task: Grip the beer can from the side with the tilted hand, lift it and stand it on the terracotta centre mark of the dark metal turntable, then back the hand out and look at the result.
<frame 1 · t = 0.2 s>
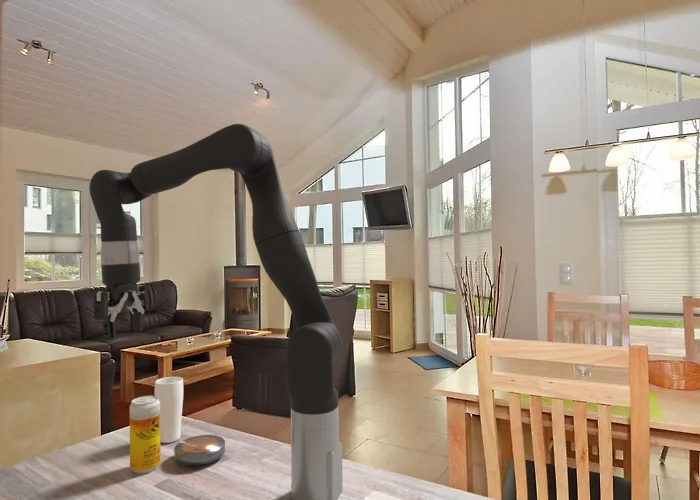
hand: (124, 334, 96), 29 cm above the table, tool pointing down, fingers open, 8 cm apart
turntable: (200, 449, 99), point 2 cm above the table, hinge at 0.0°
turntable base: (200, 458, 99), on the table
beer can: (145, 468, 95), on the table
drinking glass: (169, 440, 109), on the table
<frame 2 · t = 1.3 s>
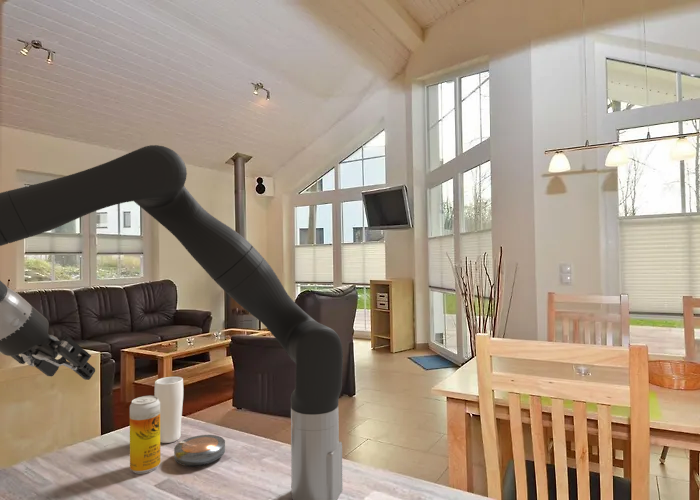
hand: (72, 373, 78), 26 cm above the table, tool tilted 45°, fingers open, 8 cm apart
nothing on the table moved.
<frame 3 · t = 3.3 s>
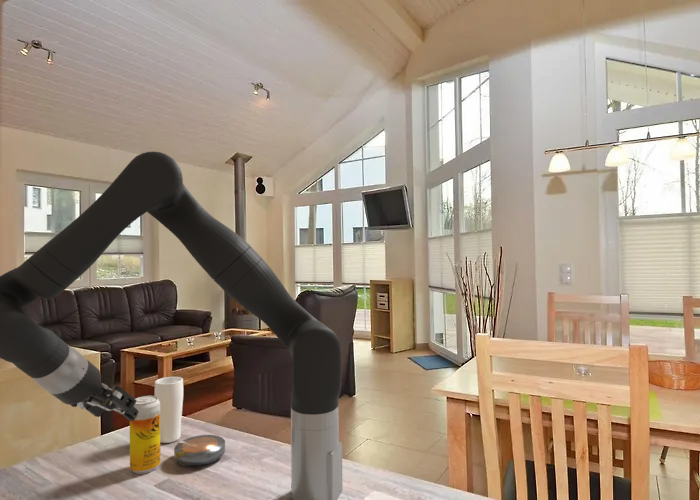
hand: (117, 414, 88), 14 cm above the table, tool tilted 45°, fingers open, 8 cm apart
nothing on the table moved.
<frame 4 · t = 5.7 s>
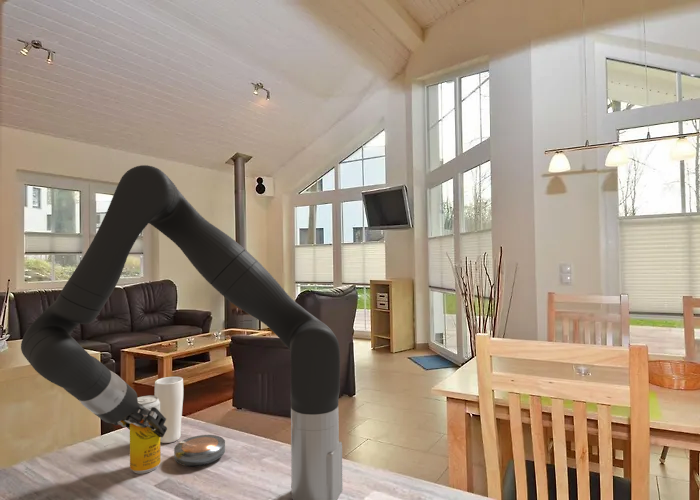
hand: (151, 431, 97), 7 cm above the table, tool tilted 45°, fingers closed on beer can, 6 cm apart
beer can: (145, 468, 95), on the table, touching gripper
everything else where it was.
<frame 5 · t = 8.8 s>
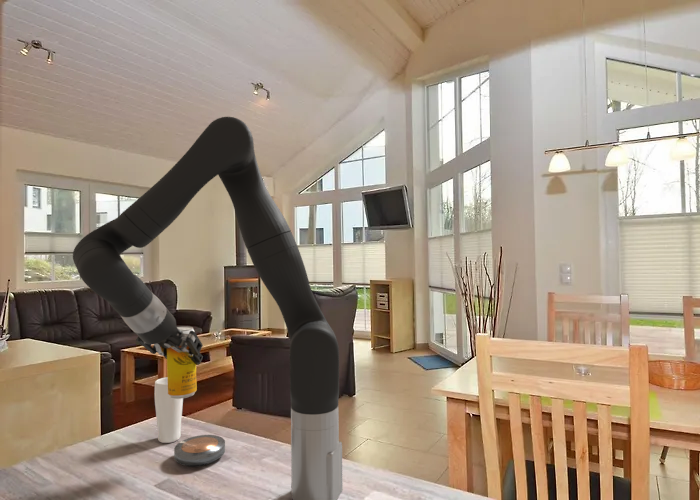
hand: (187, 360, 99), 22 cm above the table, tool tilted 45°, fingers closed on beer can, 6 cm apart
beer can: (182, 395, 97), point 15 cm above the table, touching gripper
everything else where it was.
when the fingers open (12 cm above the table, at t = 11.8 s): beer can drops 1 cm, resting on turntable.
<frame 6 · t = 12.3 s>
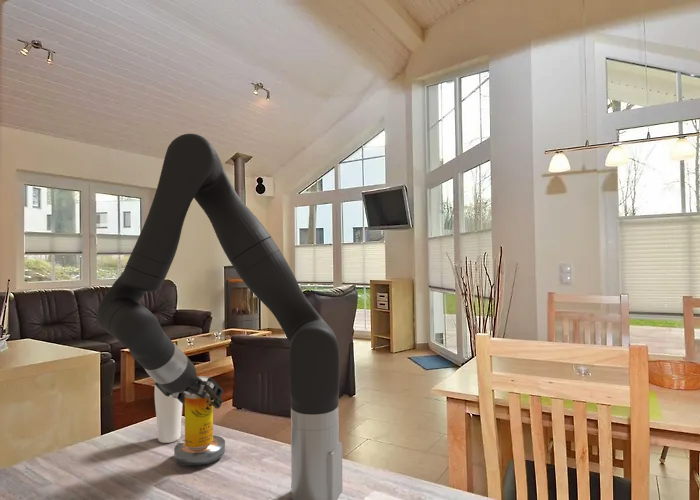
hand: (203, 403, 101), 12 cm above the table, tool tilted 45°, fingers open, 8 cm apart
turntable: (200, 449, 99), point 2 cm above the table, hinge at 0.0°, touching beer can
beer can: (199, 445, 99), point 3 cm above the table, touching turntable
everything else where it was.
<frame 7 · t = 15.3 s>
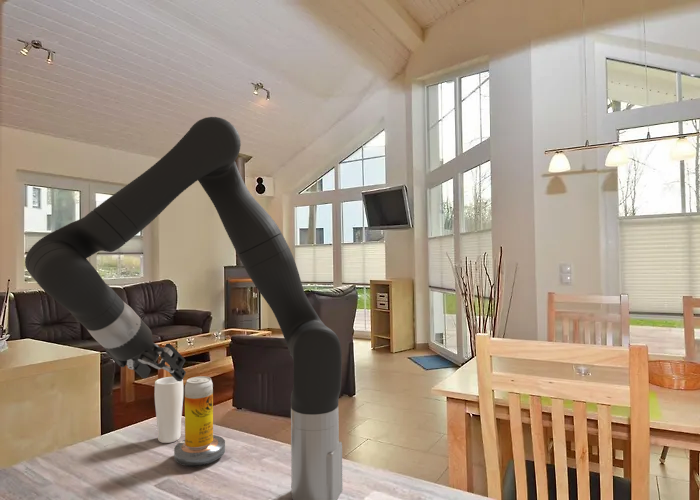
hand: (164, 375, 88), 22 cm above the table, tool tilted 45°, fingers open, 8 cm apart
nothing on the table moved.
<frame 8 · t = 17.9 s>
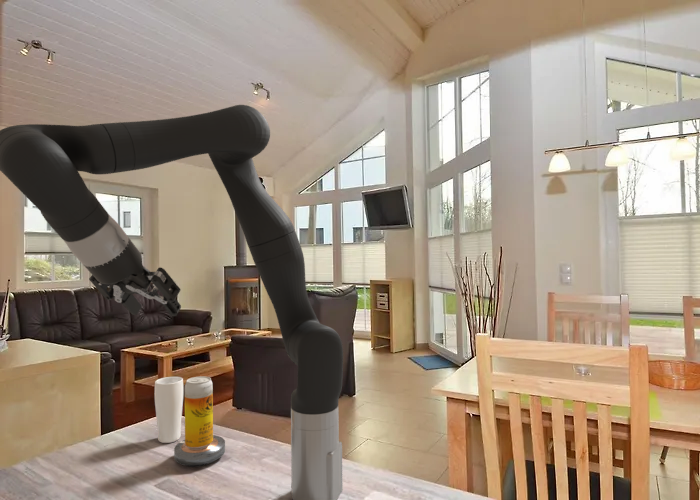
hand: (156, 311, 78), 37 cm above the table, tool tilted 45°, fingers open, 8 cm apart
nothing on the table moved.
at the end: beer can 0.3 cm off-centre on the turntable, point 2.9 cm above the turntable's base; beer can tilted 0°; the gripper is holding nothing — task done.
